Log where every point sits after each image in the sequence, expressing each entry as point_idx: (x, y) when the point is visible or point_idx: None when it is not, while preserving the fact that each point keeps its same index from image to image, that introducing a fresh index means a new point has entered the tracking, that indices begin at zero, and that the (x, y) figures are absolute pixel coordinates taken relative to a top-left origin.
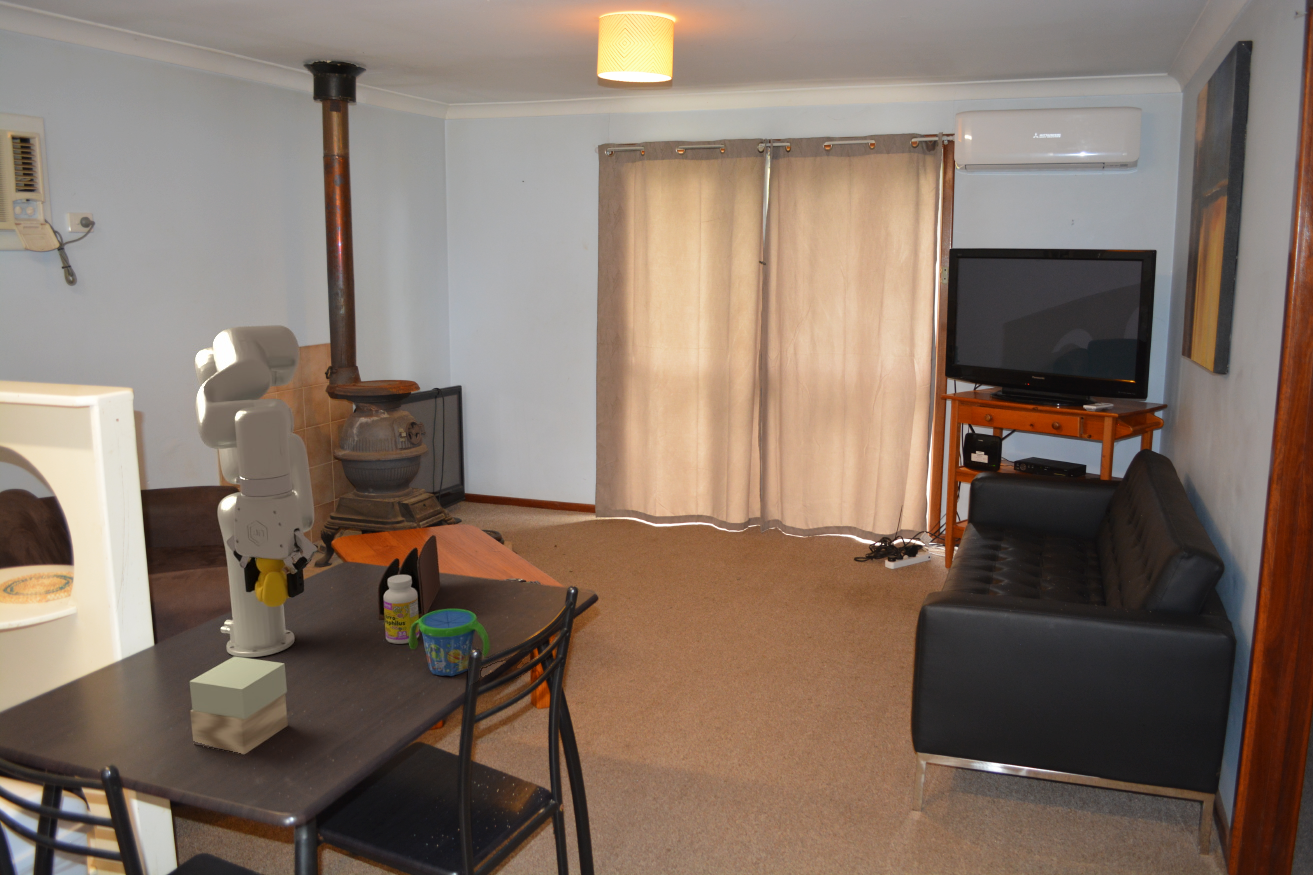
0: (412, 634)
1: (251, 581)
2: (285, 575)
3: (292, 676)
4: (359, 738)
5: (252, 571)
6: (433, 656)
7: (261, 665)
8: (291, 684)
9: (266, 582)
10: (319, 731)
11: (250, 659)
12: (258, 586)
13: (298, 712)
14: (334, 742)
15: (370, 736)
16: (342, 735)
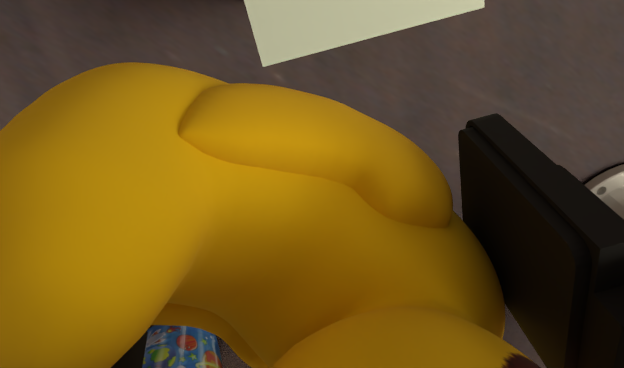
0: None
1: (497, 194)
2: None
3: (446, 169)
4: (21, 53)
5: (547, 275)
6: (164, 350)
7: (323, 7)
8: (418, 145)
9: (28, 164)
10: (145, 23)
11: (406, 21)
12: (366, 171)
13: (285, 63)
14: (51, 2)
15: (9, 76)
16: (73, 41)
